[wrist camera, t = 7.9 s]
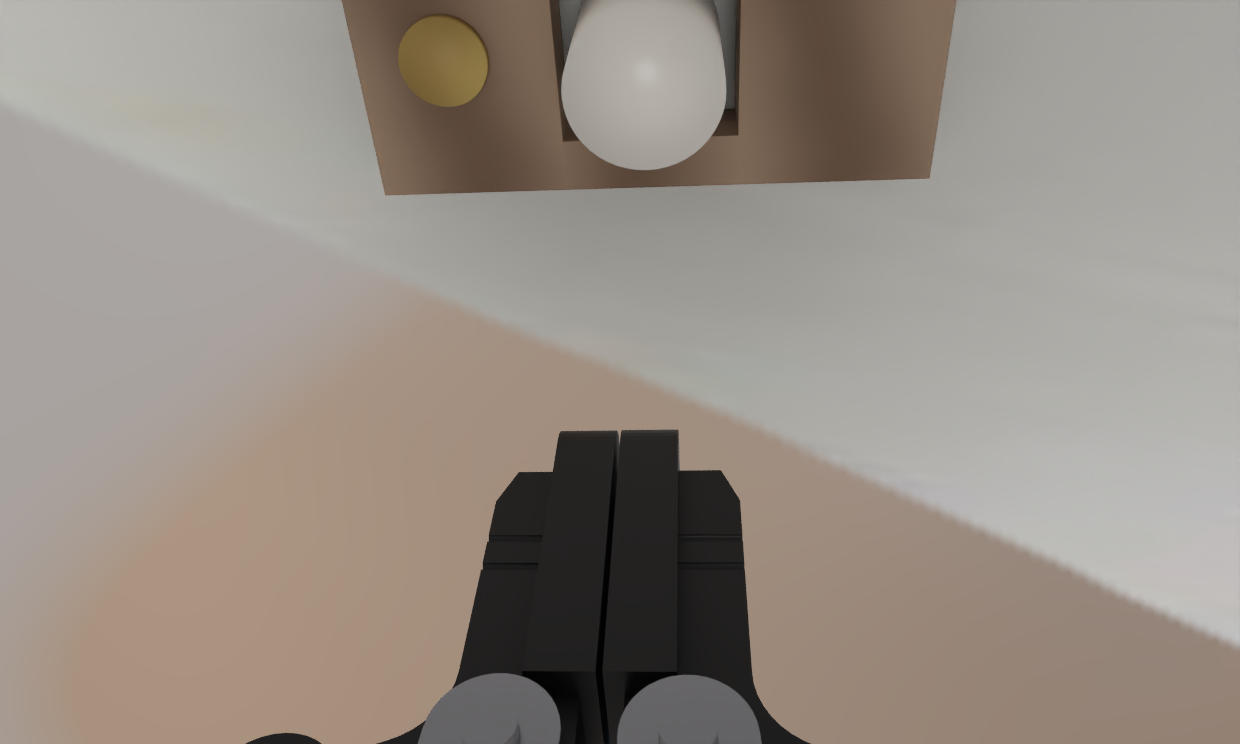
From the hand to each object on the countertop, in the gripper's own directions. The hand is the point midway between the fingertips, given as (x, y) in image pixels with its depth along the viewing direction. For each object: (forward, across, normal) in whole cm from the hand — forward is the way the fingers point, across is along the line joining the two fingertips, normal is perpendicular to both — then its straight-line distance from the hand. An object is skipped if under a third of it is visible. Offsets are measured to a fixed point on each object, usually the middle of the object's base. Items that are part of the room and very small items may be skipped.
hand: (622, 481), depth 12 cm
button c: (+18, 0, 0) cm, 19 cm away
